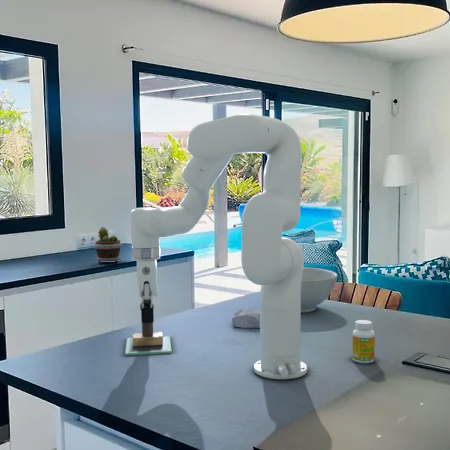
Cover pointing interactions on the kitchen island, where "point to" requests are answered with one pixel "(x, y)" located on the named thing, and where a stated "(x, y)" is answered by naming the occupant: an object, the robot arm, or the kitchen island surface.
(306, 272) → the decorative bowl
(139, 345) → the stamp
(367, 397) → the kitchen island surface
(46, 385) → the kitchen island surface
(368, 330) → the supplement bottle
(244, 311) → the stone block
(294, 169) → the robot arm
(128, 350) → the ink pad
